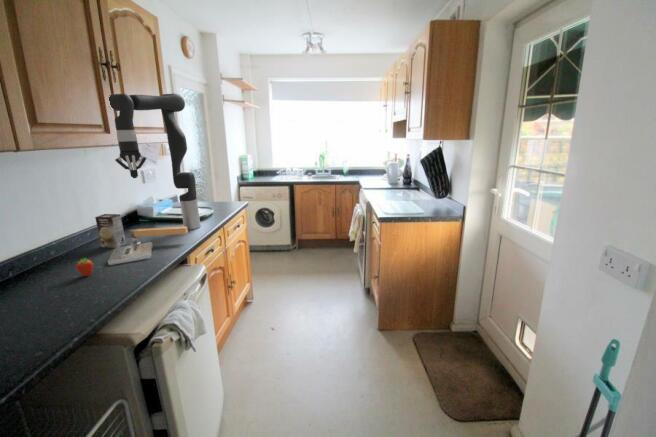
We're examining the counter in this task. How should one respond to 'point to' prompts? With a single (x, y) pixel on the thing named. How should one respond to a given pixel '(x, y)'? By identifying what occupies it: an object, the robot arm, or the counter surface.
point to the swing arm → (157, 231)
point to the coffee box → (110, 230)
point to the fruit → (85, 267)
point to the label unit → (130, 253)
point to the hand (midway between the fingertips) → (134, 177)
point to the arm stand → (134, 241)
